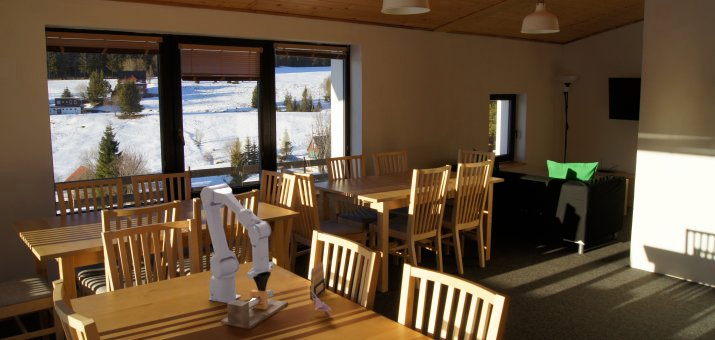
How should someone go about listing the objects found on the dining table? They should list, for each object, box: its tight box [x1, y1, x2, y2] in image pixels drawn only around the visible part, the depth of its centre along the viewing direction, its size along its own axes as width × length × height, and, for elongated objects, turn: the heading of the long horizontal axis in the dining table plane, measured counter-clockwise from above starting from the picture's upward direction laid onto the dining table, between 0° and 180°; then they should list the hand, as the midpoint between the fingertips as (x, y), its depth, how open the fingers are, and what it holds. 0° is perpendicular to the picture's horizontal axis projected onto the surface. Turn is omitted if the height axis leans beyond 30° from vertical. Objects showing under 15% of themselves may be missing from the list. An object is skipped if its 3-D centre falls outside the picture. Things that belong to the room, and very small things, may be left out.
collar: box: [249, 288, 269, 310], centre depth 215 cm, size 6×2×6 cm, turn 65°
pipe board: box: [220, 298, 289, 330], centre depth 213 cm, size 12×24×8 cm, turn 155°
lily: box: [308, 288, 333, 321], centre depth 209 cm, size 12×12×10 cm
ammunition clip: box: [309, 261, 326, 300], centre depth 231 cm, size 11×2×12 cm, turn 160°
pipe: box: [247, 288, 275, 309], centre depth 213 cm, size 3×18×3 cm, turn 155°
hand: (261, 292), depth 216 cm, fingers closed
